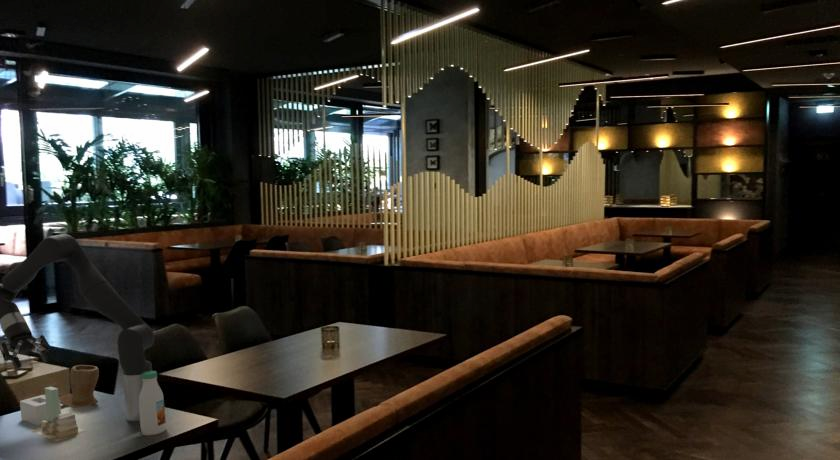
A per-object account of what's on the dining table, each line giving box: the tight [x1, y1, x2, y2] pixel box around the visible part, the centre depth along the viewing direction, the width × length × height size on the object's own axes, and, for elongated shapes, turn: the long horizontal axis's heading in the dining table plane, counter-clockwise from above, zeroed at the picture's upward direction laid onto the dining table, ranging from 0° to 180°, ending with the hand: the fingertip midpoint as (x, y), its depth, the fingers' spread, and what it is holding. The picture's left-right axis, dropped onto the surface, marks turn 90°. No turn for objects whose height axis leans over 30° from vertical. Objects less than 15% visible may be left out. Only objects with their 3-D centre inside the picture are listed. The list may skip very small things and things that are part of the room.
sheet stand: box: [19, 394, 62, 426], centre depth 233 cm, size 12×8×8 cm, turn 54°
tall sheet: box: [44, 386, 61, 423], centre depth 221 cm, size 5×2×14 cm, turn 54°
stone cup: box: [59, 364, 100, 408], centre depth 252 cm, size 15×12×15 cm
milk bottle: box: [139, 370, 167, 436], centre depth 219 cm, size 8×8×20 cm
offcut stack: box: [51, 411, 79, 438], centre depth 217 cm, size 6×6×6 cm
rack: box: [30, 420, 87, 442], centre depth 220 cm, size 18×10×4 cm, turn 54°
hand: (33, 364), depth 227 cm, fingers open, 8 cm apart
